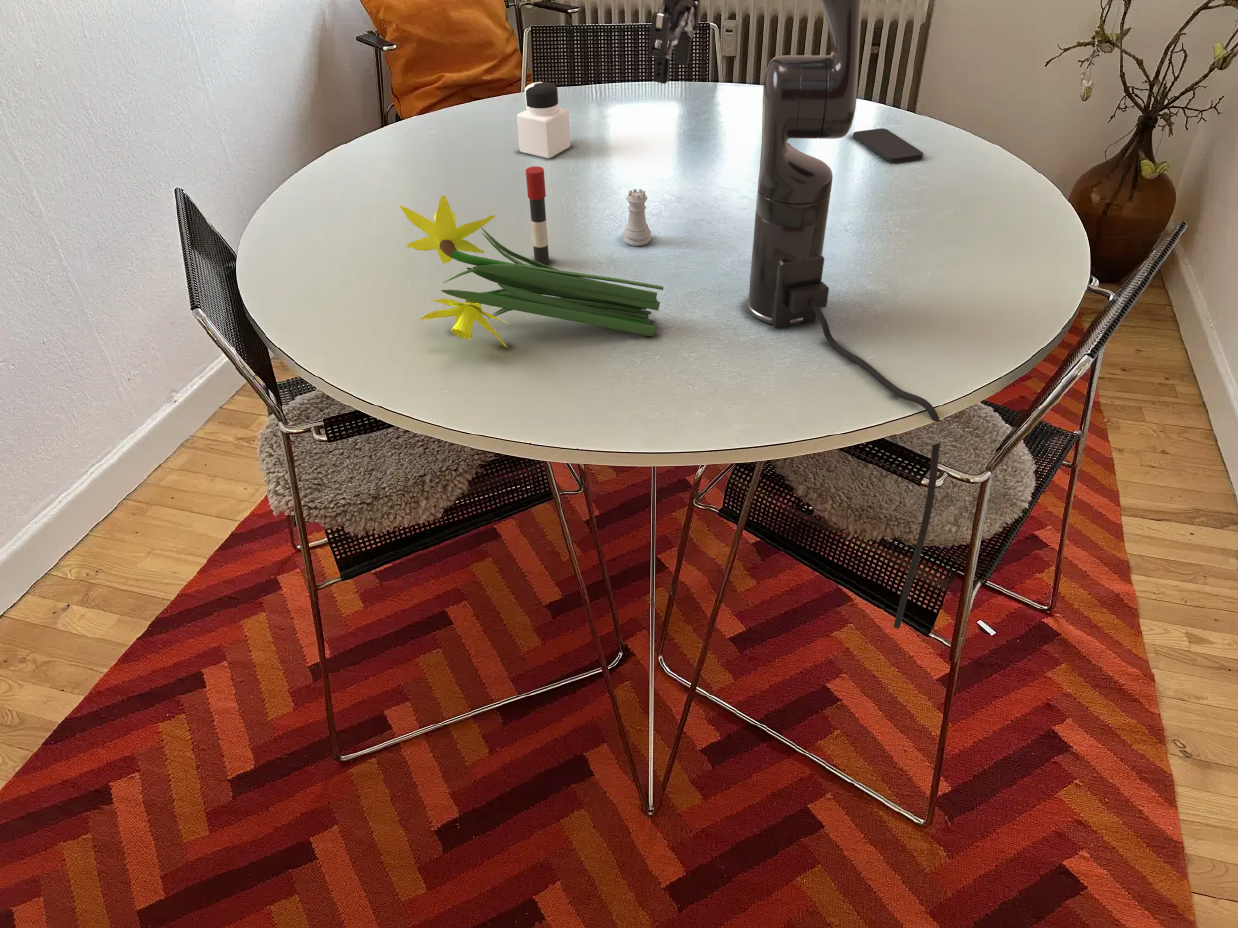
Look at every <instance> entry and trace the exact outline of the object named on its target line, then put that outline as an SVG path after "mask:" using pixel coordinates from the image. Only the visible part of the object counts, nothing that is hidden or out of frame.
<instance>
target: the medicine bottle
mask: <svg viewBox="0 0 1238 928" xmlns="http://www.w3.org/2000/svg"><path fill="white" fill-rule="evenodd" d="M558 92H559V91H558V87H557V86H556V85H555V83H552V82H548V81H537V82H532V83H530V84H528V85H527V86H526V87H525V88H524V99H525V110H523V111H521V112H518V114H516V122H517V135H518V145H519V152H520V153H523V154H527V155H533V156H537V157H541V158H545V159H551V158H554V157H555V156H556V155H558V154H560V153H562V152H563V151H565V150H567V149H569V148H570V147H571V134H570V133H571V132H570V114H569V113H570V112H569V110H568V109H567V108H561V107H559V93H558Z"/></svg>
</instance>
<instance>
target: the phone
mask: <svg viewBox="0 0 1238 928" xmlns="http://www.w3.org/2000/svg"><path fill="white" fill-rule="evenodd" d="M852 138H853V139H855V140H856V141H858V142H859V143H861V144H862V145H863V146H865V147H866V148H867V149H869V150H870V151H872V152H873V153H875V154H876V155H878V156H879V157H880V158H882V159H883V160H885V161H886V162H890V163H896V162H897V163H898V162H905V161H912V160H918V159H922V158H923V156H924V152H923V151H922V150H920V149H918V148H917V147H915V146H914V145H912V144H911V143H909V142H908V141H906V140H905V139H903V138H901V137H900V136H898V135H897V134H895V133H894V132H892V131H890V130H889V129H887V128H874V129H873V128H872V129H866V130H859V131H854V132H853V133H852Z"/></svg>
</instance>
